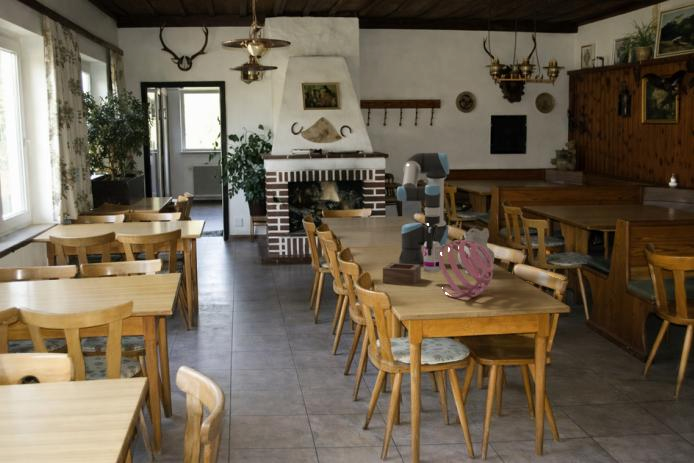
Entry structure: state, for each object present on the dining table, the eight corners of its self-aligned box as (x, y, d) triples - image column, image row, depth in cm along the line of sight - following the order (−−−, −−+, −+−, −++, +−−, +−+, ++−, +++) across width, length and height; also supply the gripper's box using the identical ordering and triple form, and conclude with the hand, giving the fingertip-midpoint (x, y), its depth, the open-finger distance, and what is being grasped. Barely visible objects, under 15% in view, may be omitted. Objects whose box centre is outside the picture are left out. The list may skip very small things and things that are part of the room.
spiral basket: (413, 253, 361) (456, 225, 346) (449, 260, 381) (491, 233, 366) (432, 307, 349) (477, 280, 334) (467, 310, 369) (512, 285, 354)
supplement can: (427, 273, 382) (427, 243, 379) (421, 270, 389) (421, 241, 387) (442, 272, 384) (442, 243, 381) (436, 269, 392) (436, 240, 389)
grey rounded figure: (492, 280, 400) (497, 233, 397) (454, 275, 404) (459, 229, 400) (492, 272, 421) (497, 227, 418) (457, 268, 425) (461, 224, 421)
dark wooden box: (391, 276, 404) (391, 262, 403) (420, 278, 399) (420, 264, 398) (382, 282, 389) (382, 268, 388) (413, 284, 384) (413, 270, 383)
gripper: (429, 212, 393) (429, 255, 397) (420, 218, 373) (419, 263, 377) (443, 213, 391) (443, 256, 394) (435, 218, 371) (434, 264, 375)
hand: (431, 260), depth 386 cm, fingers closed on supplement can, 8 cm apart
